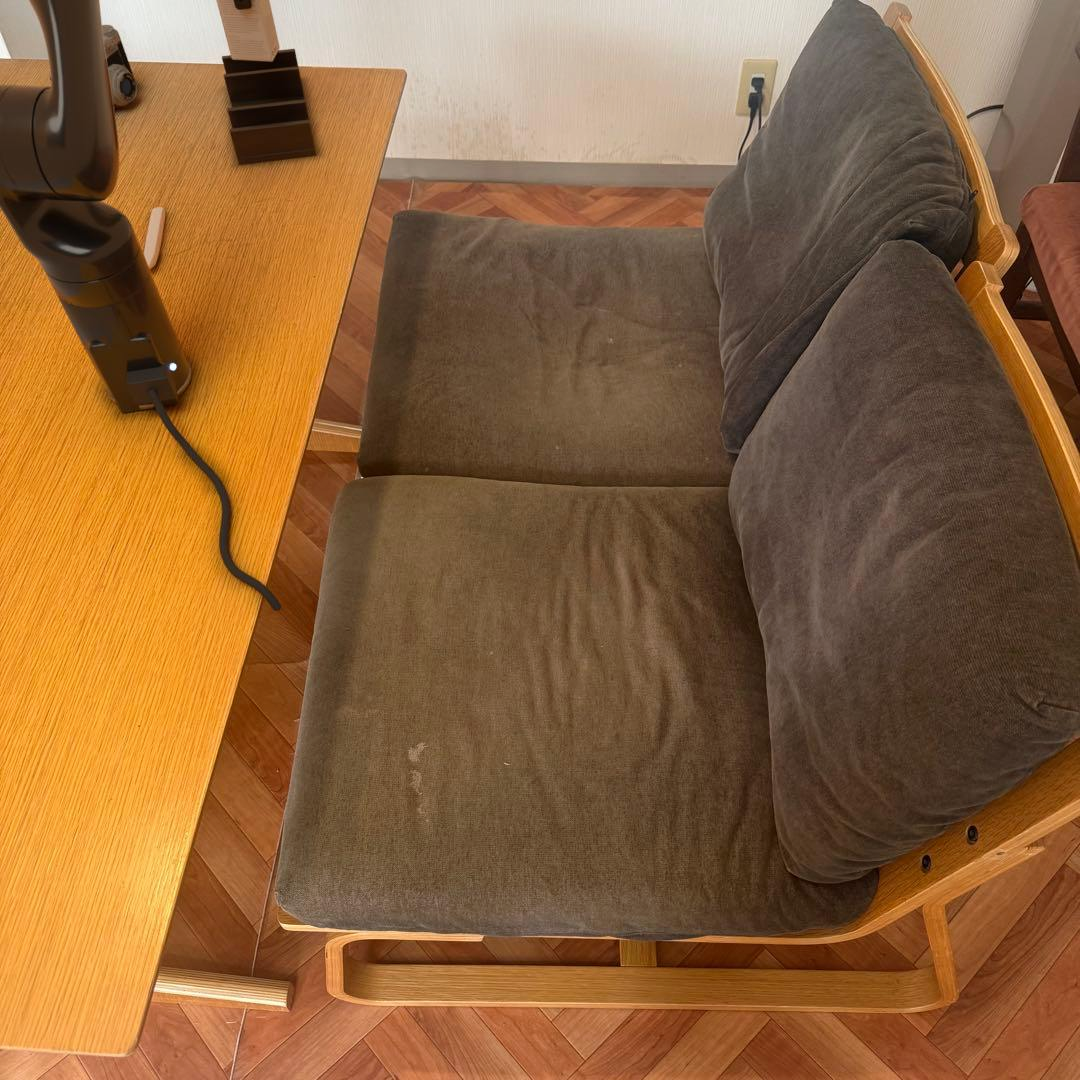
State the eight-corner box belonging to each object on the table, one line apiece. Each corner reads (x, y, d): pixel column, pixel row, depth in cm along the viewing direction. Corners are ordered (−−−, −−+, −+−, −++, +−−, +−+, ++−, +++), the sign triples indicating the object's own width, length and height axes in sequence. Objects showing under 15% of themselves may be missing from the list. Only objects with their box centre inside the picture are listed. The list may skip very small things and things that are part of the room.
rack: (316, 155, 129) (309, 122, 125) (238, 165, 128) (229, 131, 123) (301, 80, 142) (294, 48, 138) (230, 88, 140) (221, 55, 136)
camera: (104, 136, 131) (77, 67, 123) (64, 128, 132) (35, 59, 124) (159, 88, 139) (137, 20, 131) (121, 80, 141) (97, 13, 132)
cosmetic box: (280, 48, 128) (261, -46, 118) (272, 63, 125) (252, -32, 115) (239, 45, 128) (216, -48, 118) (230, 60, 125) (206, -35, 116)
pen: (144, 278, 112) (139, 267, 111) (156, 212, 121) (151, 201, 119) (157, 277, 113) (152, 266, 111) (168, 211, 121) (164, 200, 119)
